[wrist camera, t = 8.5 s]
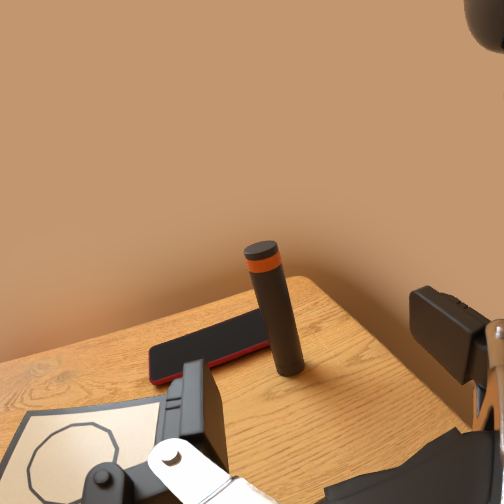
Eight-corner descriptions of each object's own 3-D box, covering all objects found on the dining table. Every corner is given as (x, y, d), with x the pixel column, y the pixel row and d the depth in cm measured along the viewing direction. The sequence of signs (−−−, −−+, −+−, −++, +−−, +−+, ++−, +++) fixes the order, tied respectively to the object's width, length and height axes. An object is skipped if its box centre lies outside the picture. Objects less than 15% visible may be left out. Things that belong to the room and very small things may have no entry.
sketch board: (178, 396, 27) (175, 390, 27) (171, 547, 12) (166, 544, 12) (29, 414, 26) (26, 409, 26) (-16, 514, 11) (-22, 510, 11)
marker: (300, 355, 29) (273, 237, 26) (308, 371, 27) (280, 246, 23) (274, 363, 29) (241, 246, 25) (279, 380, 27) (245, 256, 23)
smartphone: (148, 347, 35) (264, 305, 38) (151, 353, 36) (265, 311, 39) (148, 383, 28) (287, 332, 32) (152, 390, 29) (289, 339, 32)
